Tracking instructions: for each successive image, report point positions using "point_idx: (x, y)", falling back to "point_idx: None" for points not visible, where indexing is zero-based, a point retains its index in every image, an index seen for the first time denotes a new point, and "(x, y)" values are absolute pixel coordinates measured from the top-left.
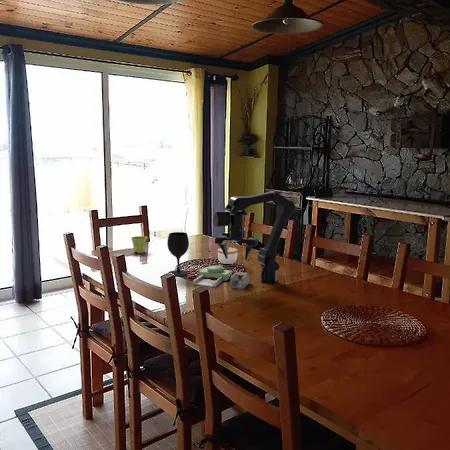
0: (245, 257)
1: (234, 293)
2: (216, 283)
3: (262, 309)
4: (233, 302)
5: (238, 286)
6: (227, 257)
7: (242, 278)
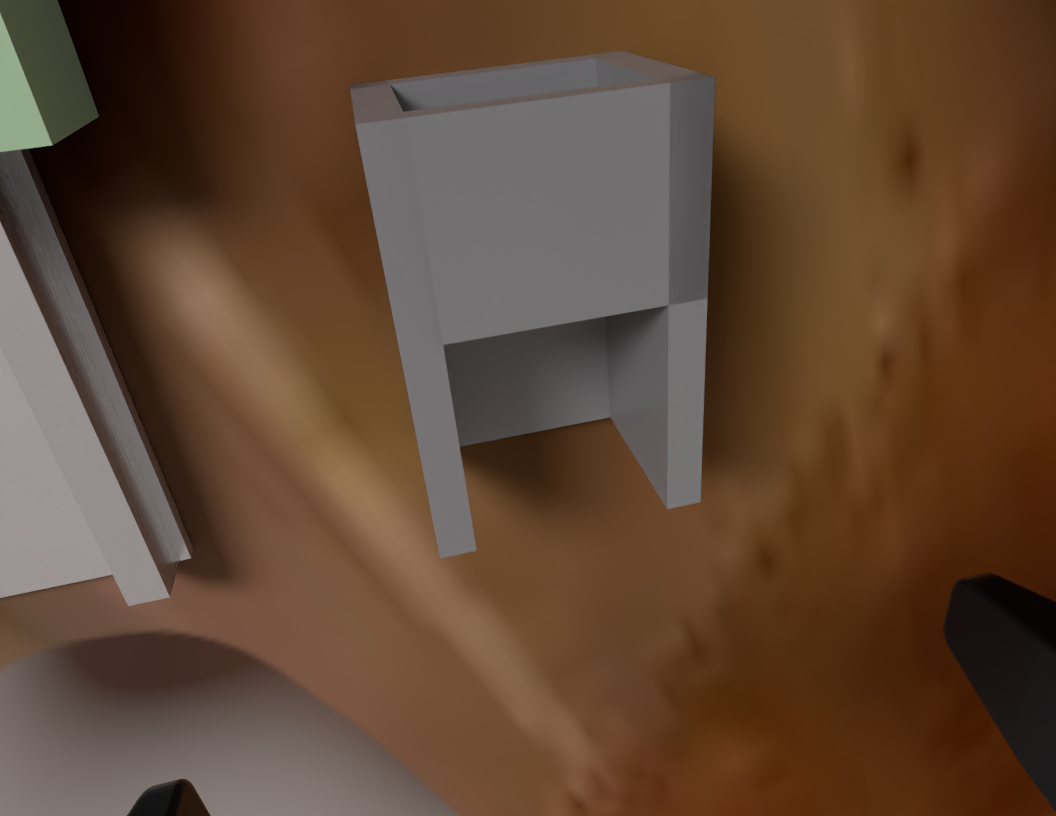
0: (1029, 768)
1: (588, 598)
2: (143, 495)
3: (948, 749)
4: (678, 775)
5: (552, 406)
6: (181, 813)
7: (683, 502)
